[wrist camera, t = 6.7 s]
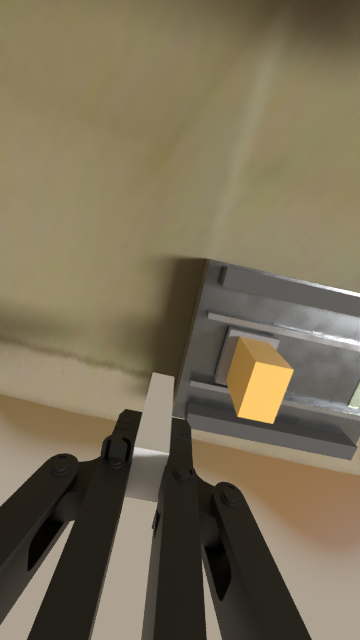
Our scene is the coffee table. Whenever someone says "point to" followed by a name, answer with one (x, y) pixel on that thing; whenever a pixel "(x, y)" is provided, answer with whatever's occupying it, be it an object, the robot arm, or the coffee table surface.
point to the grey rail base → (295, 347)
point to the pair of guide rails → (278, 431)
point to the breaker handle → (253, 374)
